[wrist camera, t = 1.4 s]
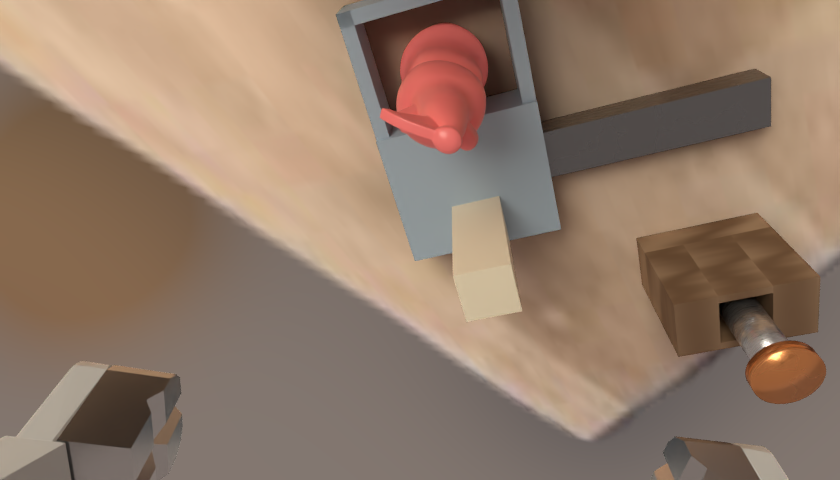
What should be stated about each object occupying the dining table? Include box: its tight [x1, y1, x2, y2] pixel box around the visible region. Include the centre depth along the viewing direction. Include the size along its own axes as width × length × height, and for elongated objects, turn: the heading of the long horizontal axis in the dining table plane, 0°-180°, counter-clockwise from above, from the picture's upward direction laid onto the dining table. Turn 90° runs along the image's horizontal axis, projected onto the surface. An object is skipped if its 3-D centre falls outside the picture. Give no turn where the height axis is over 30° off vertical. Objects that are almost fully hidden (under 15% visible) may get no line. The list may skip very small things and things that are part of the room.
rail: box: [541, 69, 771, 177], centre depth 38 cm, size 22×3×2 cm, turn 105°
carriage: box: [336, 0, 561, 322], centre depth 34 cm, size 10×16×11 cm, turn 15°
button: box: [719, 297, 826, 404], centre depth 34 cm, size 4×4×7 cm
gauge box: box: [637, 213, 820, 357], centre depth 39 cm, size 8×4×8 cm, turn 105°
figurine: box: [380, 22, 488, 154], centre depth 31 cm, size 5×5×15 cm
